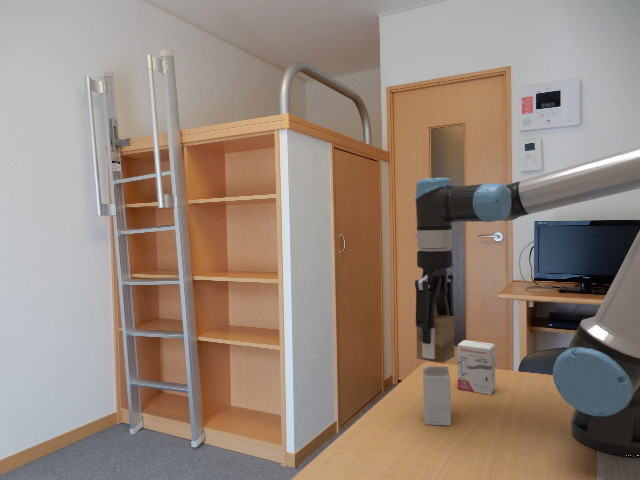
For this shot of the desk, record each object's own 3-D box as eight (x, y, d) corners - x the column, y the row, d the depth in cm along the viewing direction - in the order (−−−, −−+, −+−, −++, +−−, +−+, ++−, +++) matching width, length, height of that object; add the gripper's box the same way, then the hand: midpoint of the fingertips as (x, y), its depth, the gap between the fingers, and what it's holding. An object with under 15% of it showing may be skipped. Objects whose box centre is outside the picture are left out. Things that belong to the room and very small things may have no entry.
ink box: (456, 389, 122) (455, 343, 121) (462, 383, 126) (462, 339, 125) (490, 395, 117) (490, 348, 116) (496, 389, 121) (495, 343, 120)
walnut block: (454, 356, 104) (454, 316, 104) (442, 363, 100) (441, 321, 99) (429, 352, 108) (429, 313, 108) (417, 358, 103) (416, 317, 103)
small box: (451, 426, 100) (450, 377, 99) (424, 425, 101) (423, 376, 101) (448, 411, 108) (448, 366, 107) (423, 410, 109) (423, 365, 108)
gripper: (438, 246, 112) (439, 342, 113) (396, 252, 98) (398, 361, 99) (468, 247, 108) (470, 347, 109) (429, 253, 93) (431, 368, 94)
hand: (436, 353), depth 104 cm, fingers open, 6 cm apart
